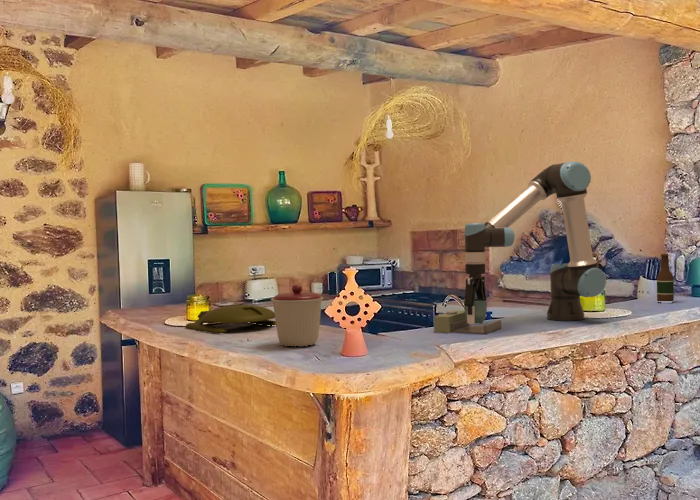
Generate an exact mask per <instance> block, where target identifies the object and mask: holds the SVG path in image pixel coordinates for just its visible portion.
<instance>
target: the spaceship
mask: <svg viewBox="0 0 700 500" xmlns="http://www.w3.org/2000/svg"><path fill="white" fill-rule="evenodd" d="M197 318H198V319H197V320H195V321H194V322H189V323H186V325H185V329H188V328H189V330H193V329H195V331H199V330H200V332H204V331H206V332H205V333H209V332H211V334H215V333H225V334H227V333H228V329H227V328H225V327H219V326H214V325H212V324H228V323H229V324H238V323H239V324H240V323H243V322H250V323H256V324H262V325H261V326H263V325H270V326H272V325H276V320H273V319H275V313H274V311H273V310H272V309H269V308H267V307H263V306H259V305H253V304H252V305H250V304H249V305H248V304H238V305H237V304H234V305H233V304H232V305H226V306H221V307H216V308H214V309H212V310H204V311H202V310H201V311H200V312H199V313H198V315H197ZM250 323H249V324H250ZM207 324H209V325H207ZM210 324H211V325H210ZM256 324H255V325H256ZM226 332H227V333H226Z"/></svg>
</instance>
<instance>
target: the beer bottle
mask: <svg viewBox="0 0 700 500" xmlns="http://www.w3.org/2000/svg"><path fill="white" fill-rule="evenodd" d="M660 257H661V258H660V271H659V272H658V273H657V277H656V301H673V300H674V297H675V296H674V287H675V286H674V283H675V282H674V275H673V272H671V270H670V264H669V263H670V262H669V260H670V259H669V257H670V255H669V254H668V253H661V254H660Z"/></svg>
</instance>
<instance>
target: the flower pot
mask: <svg viewBox="0 0 700 500" xmlns="http://www.w3.org/2000/svg"><path fill="white" fill-rule="evenodd" d="M464 301H465V298H464V299H463V302H464ZM473 306H474V308H475V324H484V321H485V320H486V317H487V310H488V309H487V308H488V298H487V299H477V298H475V299H474V304H473ZM463 308H464V311H465V315H466V318H467V306H464V305H463ZM484 319H485V320H484Z"/></svg>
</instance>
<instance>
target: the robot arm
mask: <svg viewBox="0 0 700 500" xmlns="http://www.w3.org/2000/svg"><path fill="white" fill-rule="evenodd" d="M591 179H592V176H591V172H590V170H589V168H588V166H587V165H585V164H584V163H582V162H580V161H567V162H561V163H556V164H551V165H549V166H548V167H546V168H545V169H543V170H542V171H541V172H539V173H538V174H537V175H536V176H534V178H532V179H531V180H530V181H528V183H527V184H528V186H527V187H526V188H525V189H523V190H522V191H521V192H519V194H517V195H516V196H515V197H514V198H513V199H511V200H510V201H509V202H508V203H507V204H505V205H504V206H503V207H502V208H501V209H500V210H499V211H498V212H496V213H495V214H494V215H493V216H491V218H489V219H488V220H487V221H486V222H485V223H484V222H467V223H466V224H465V225H464V234H463V235H464V255H463V257H464V259H465V260H464V261H465V263H466V264H465V266H464V269H465V270H464V271H465V274H466V275H469V277H468V278H465V291H464V293H465V294H464V299H465V301H464V300H463V307H464V306H467V323H470V324H472V325H474V324H476V323H475V308H474V306H473V304H474V299H487V300H488V298H487V291H486V282H485V281H486V277H485V276H483V275H484V274H485V273H486V264H485V262H486V248H509V247H511V246H513V244H514V243H515V232H514V229H512V228H511V227H510V226H512V225H513V224H514V223H516V221H518V220H519V219H520V218H521V217H522V216H524V215H525V214H526V213H527V212H528V211H529V210H531V209H532V208H533V207H534V206H535V205H537V204H538V203H539V202H540V201H545V200H546V199H548V197H550V196H552V195H555V194H556V199H557V200H558V201H560V202H561V205H562V206H561V207H562V214H563V219H564V220H563V221H564V227H565V233H566V240H567V247H568V252H569V262H568V263H559V264H553V265H551V267H550V270H549V271H550V273H549V278H550V302H549V305H548V309H547V311H546V319H548V320H551V321H552V320H553V321H560V322H561V321H563V322H565V321H569V322H570V321H571V322H572V321H574V322H575V321H582V319H583V320H584V319H585V312H584V308H583V306H582V302H581V299H580V298H581V297H583V298H593V297H594V298H595V297H596V296H598V295H600V294H601V293H602V292H603V290H604V289H605V288H606V284H607V278H606V273H605V272H604V271H603V270H602V269H601V268H599V264H598V260H596V259H595V258H594V257H593V250H592V245H591V244H592V243H591V235H590V231H589V223H588V218H587V211H586V210H587V209H586V203H585V197H586V196H587V195H588V190H587V189H588V187H589V186H590V183H591V182H592V181H591ZM484 321H486V318H485V319H484Z"/></svg>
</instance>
